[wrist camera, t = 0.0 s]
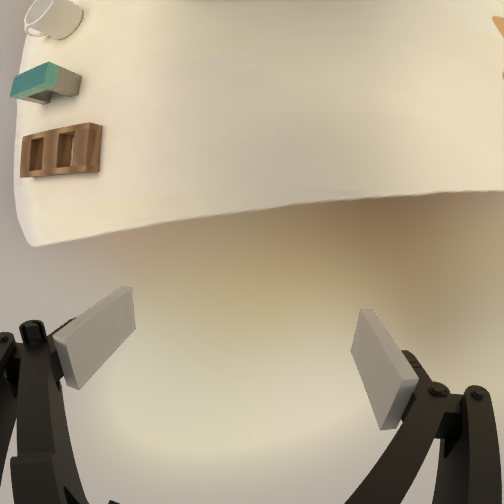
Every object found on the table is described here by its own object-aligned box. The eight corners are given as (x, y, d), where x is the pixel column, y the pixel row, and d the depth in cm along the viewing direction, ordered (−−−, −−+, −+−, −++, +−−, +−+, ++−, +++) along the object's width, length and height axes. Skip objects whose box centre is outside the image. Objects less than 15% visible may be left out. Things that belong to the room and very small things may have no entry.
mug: (44, 28, 36) (16, 14, 26) (84, 2, 35) (58, -18, 24) (42, 54, 38) (10, 42, 27) (83, 28, 36) (53, 8, 26)
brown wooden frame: (33, 177, 44) (19, 177, 40) (36, 138, 42) (22, 136, 38) (98, 171, 43) (85, 171, 39) (102, 125, 41) (89, 122, 37)
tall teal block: (43, 104, 41) (9, 97, 31) (46, 86, 40) (14, 77, 30) (77, 95, 40) (43, 83, 30) (81, 76, 39) (48, 61, 29)
